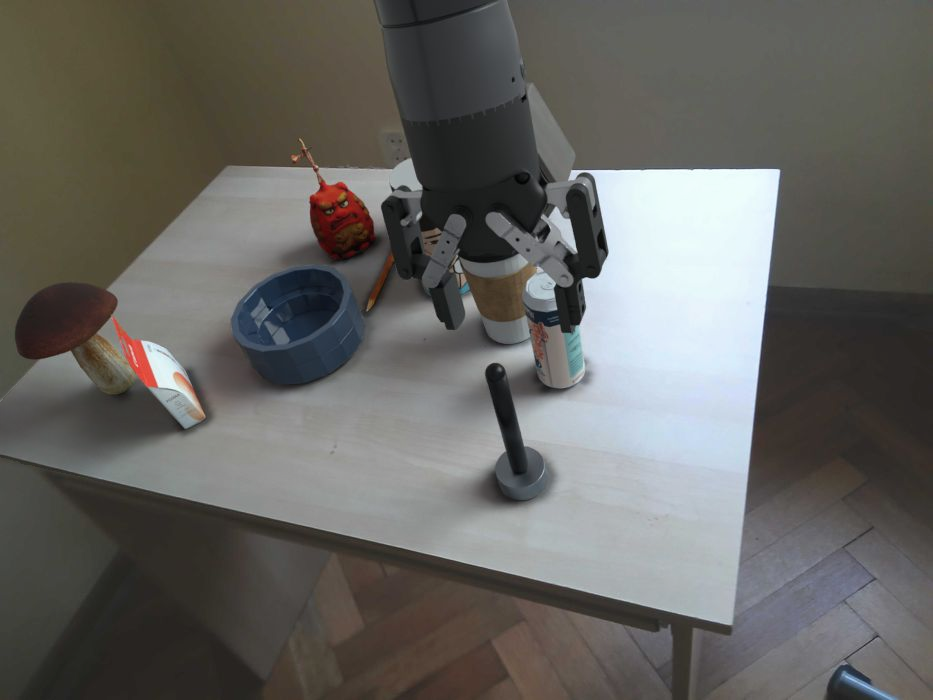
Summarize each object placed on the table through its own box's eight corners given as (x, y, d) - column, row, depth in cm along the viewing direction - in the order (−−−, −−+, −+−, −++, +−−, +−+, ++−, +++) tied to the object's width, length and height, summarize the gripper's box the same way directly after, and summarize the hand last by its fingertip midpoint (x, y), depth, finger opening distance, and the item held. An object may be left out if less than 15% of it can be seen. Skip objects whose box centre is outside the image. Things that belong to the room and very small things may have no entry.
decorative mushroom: (124, 348, 89) (47, 255, 78) (187, 360, 84) (113, 262, 74) (61, 416, 82) (-32, 324, 72) (125, 432, 78) (35, 336, 67)
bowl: (259, 404, 77) (235, 367, 73) (249, 326, 86) (227, 290, 82) (377, 360, 78) (360, 321, 74) (354, 288, 87) (338, 250, 83)
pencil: (413, 220, 95) (412, 216, 95) (370, 314, 84) (368, 309, 83) (408, 220, 95) (406, 216, 95) (364, 313, 84) (362, 309, 83)
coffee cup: (538, 357, 73) (516, 244, 63) (463, 347, 77) (431, 237, 66) (560, 302, 78) (544, 188, 68) (489, 294, 82) (463, 184, 71)
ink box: (186, 371, 83) (135, 299, 75) (207, 419, 77) (153, 347, 69) (163, 383, 82) (109, 312, 74) (182, 433, 76) (125, 362, 68)
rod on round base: (508, 507, 62) (475, 397, 51) (492, 469, 65) (457, 357, 54) (555, 489, 62) (531, 375, 51) (536, 452, 65) (511, 337, 55)
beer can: (539, 356, 73) (523, 268, 65) (586, 354, 72) (575, 265, 64) (536, 392, 70) (518, 304, 62) (585, 391, 69) (573, 301, 61)
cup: (414, 277, 87) (378, 172, 76) (462, 253, 88) (434, 147, 77) (437, 306, 82) (403, 199, 71) (487, 281, 83) (461, 172, 73)
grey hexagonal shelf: (388, 217, 88) (442, 80, 72) (408, 181, 93) (463, 45, 77) (509, 277, 90) (588, 157, 74) (523, 239, 95) (599, 118, 79)
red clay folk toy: (336, 270, 91) (292, 169, 80) (314, 246, 95) (270, 148, 85) (386, 242, 93) (350, 140, 82) (362, 220, 97) (325, 121, 87)
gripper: (326, 128, 41) (401, 353, 50) (563, 99, 35) (601, 361, 44) (383, 87, 47) (441, 297, 55) (596, 57, 41) (624, 297, 50)
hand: (512, 325), depth 50 cm, fingers open, 8 cm apart
